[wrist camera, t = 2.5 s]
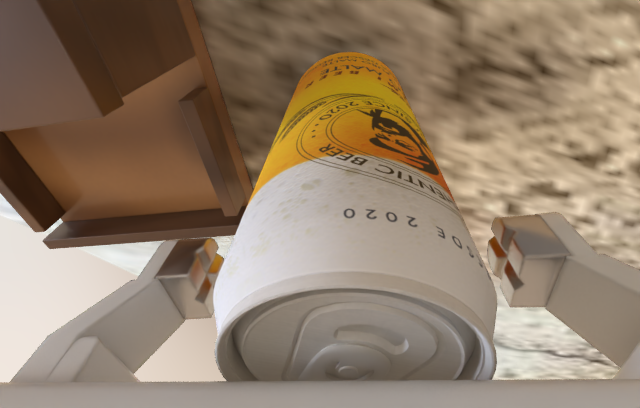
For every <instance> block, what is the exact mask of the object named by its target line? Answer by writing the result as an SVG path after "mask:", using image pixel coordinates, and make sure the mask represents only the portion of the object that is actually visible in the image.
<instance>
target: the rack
mask: <svg viewBox="0 0 640 408" xmlns="http://www.w3.org/2000/svg"><path fill="white" fill-rule="evenodd" d="M0 193H1V194H2V195H3V197H4V198H5V199H6V200H7V201H8V202H9V203H10V204H11V206H12V207H13V208H14V209H15V210H16V211H17V212H18V214H19V215H20V216H21V217H22V218H23V219H24V220H25V221H26V223H27V224H28V225H29V226H30V227H31V228H32V229H33V231H35V232H44V231H46V230H47V229H48V228H49V227H51V226H52V225H53V224H54V223H55V222H56V221H57V220H59V219H60V218H61V219H62V221H63V223H62V224H60V225H59V226H58V227H57V228H56V229H55V230H54V231H53V232H52V233H50V234H49V235H48V236H47V237H46V238H45V239H44V240H43V242H44V243H45V244H46V245H47V247H48V248H49V249H56V248H69V247H83V246H96V245H110V244H123V243H136V242H150V241H163V240H176V239H190V238H203V237H216V236H230V235H235V234H236V231H237V229H238V227H239V224H240V222H241V219H242V217H243V214H244V212H245V210H246V207H247V205H248V202H249V200H250V198H251V195H252V193H253V188H252V185H251V182H250V179H249V176H248V173H247V170H246V167H245V164H244V161H243V158H242V155H241V152H240V149H239V146H238V143H237V140H236V136H235V133H234V130H233V127H232V124H231V121H230V118H229V115H228V112H227V109H226V106H225V103H224V100H223V97H222V94H221V91H220V88H219V85H218V81H217V78H216V75H215V72H214V69H213V66H212V63H211V60H210V57H209V54H208V51H207V48H206V45H205V42H204V39H203V36H202V33H201V30H200V27H199V23H198V20H197V17H196V14H195V11H194V8H193V5H192V2H191V0H0Z"/></svg>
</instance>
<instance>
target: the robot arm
mask: <svg viewBox="0 0 640 408" xmlns="http://www.w3.org/2000/svg"><path fill="white" fill-rule="evenodd" d="M491 230H492V232H493V233H494V235H495V236H494V237H493V238H492V239H491V240H489V242H488V248H487V255H488V262H489V265H490V268H491V270H492V272H493V274H494V275H495V276H497V277H499V278H500V279H502V280H501V284H500V288H501V290H502V292H503V294H504V296H505V298H506V300H507V302H508V304H509V306H510V307H546V308H545V309H547V310H548V311H549V312H550V313H552V314H553V315H554V316H555V317H557V318H558V319H559V320H561V321H562V322H563V323H564V324H566V325H567V326H568V327H569V328H571V329H572V330H573V331H575V332H576V333H577V334H578V335H580V336H581V337H582V338H583V339H585V340H586V341H587V342H588V343H590V344H591V345H592V346H594V347H595V348H596V349H597V350H599V351H600V352H601V353H602V354H604V355H605V356H606V357H608V358H609V359H610V360H611V361H613V362H614V363H615V364H616V365H618V366H619V367H620V369H619V371H618V372H617V373H616V375H615V376H614V377H613V379H553V380H386V381H222V382H221V381H220V382H219V381H218V382H140V381H139V380H138V379H137V378H136V377H135V376H134V373H135V372H136V371H137V370H138V369H139V368H140V367H141V366H142V365H143V364H144V363H145V362H146V361H147V359H149V357H150V356H151V355H152V354H153V353H154V352H155V351H156V350H157V349H158V348H159V347H160V346H161V345H162V344H163V343H164V342H165V341H166V340H167V339H168V338H169V337H170V336H171V335H172V334H173V333H174V332H175V331H176V330H177V329H178V328H179V327H180V325H181V324H182V323H183V322H184V321H185V319H200V318H211V317H212V315H213V312H214V303H213V293H214V287H215V283H216V280H217V277H218V275H219V272H220V270H221V267H222V265H223V263H224V258H223V257H221V256H220V255H219V254H217V253H216V252H217V250H218V248H219V247H218V245H217V243H216V241H215V239H212V238H199V239H181V240H167V241H165V242H163V243H162V244H161V245H160V246H159V248H158V249H157V251H156V252H155V254H154V255H153V256H152V258H151V259H150V261H149V262H148V264H147V265H146V267H145V268H144V269H143V271H142V272H141V274H140V275H139V277H138V278H137V279H136V280H131V281H129V282H128V283H126V284H125V285H123V286H122V287H120V288H119V289H117V290H116V291H114V292H113V293H111V294H110V295H108V296H107V297H105V298H104V299H102V300H101V301H99V302H98V303H97V304H95V305H93V306H92V307H90V308H89V309H87V310H86V311H85V312H83V313H82V314H80V315H79V316H77V317H76V318H74V319H73V320H71V321H70V322H68V323H67V324H65V325H64V326H62V327H61V328H59V329H58V330H56V331H55V332H53V333H52V334H50V335H49V336H47V338H46V339H45V340H44V341H43V342H42V344H41V345H40V346H39V347H38V349H37V350H36V351H35V352H34V353H33V355H32V356H31V357H30V358H29V359H28V361H27V362H26V363H25V364H24V365H23V367H22V368H21V369H20V370H19V371H18V373H17V374H16V375H15V376H14V377H13V379H12V380H11V381H10V382H9V383H0V408H640V270H638V269H636V268H634V267H632V266H630V265H627V264H625V263H623V262H621V261H619V260H617V259H614V258H612V257H610V256H608V255H606V254H597V253H596V252H595V251H594V250H593V248H592V247H591V246H590V245H589V244H588V243H587V242H586V241H585V240H584V239H583V238H582V236H581V235H580V234H579V233H578V232H577V231H576V230H575V229H574V228H573V227H572V226H571V224H570V223H569V222H568V221H567V220H566V219H565V218H564V217H563V216H562V215H561V214H559V213H557V212H552V213H541V214H535V215H522V216H510V217H497V218H495V219H494V221H493V223H492V227H491Z"/></svg>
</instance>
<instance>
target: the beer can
mask: <svg viewBox="0 0 640 408" xmlns="http://www.w3.org/2000/svg"><path fill="white" fill-rule="evenodd" d="M213 303H214V311H215V318H216V325H217V331H218V337H217V340H216V344H215V358H216V363H217V365H218V368H219V370H220V372H221V373H222V375H223V377H224V378H225V379H226V380H227V381H386V380H492V378H493V376H494V373H495V370H496V364H497V359H496V350H495V347H494V344H493V334H494V326H495V319H496V311H497V295H496V291H495V287H494V284H493V282H492V279H491V277H490V275H489V273H488V271H487V269H486V267H485V265H484V262H483V260H482V258H481V256H480V254H479V252H478V250H477V248H476V246H475V243H474V241H473V239H472V237H471V235H470V233H469V231H468V229H467V226H466V224H465V222H464V220H463V218H462V216H461V214H460V212H459V209H458V207H457V205H456V203H455V201H454V199H453V197H452V195H451V192H450V190H449V188H448V186H447V184H446V182H445V180H444V178H443V175H442V173H441V171H440V169H439V167H438V165H437V163H436V161H435V158H434V156H433V154H432V152H431V150H430V148H429V146H428V144H427V141H426V139H425V137H424V135H423V133H422V131H421V129H420V127H419V124H418V122H417V120H416V118H415V116H414V114H413V112H412V110H411V107H410V105H409V103H408V101H407V99H406V97H405V95H404V93H403V90H402V88H401V86H400V84H399V82H398V80H397V78H396V77H395V75H394V74H393V72H392V71H391V70H390V69H389V68H388V67H387V66H386V65H385V64H384V63H382V62H381V61H379V60H378V59H376V58H374V57H372V56H369V55H366V54H363V53H358V52H342V53H336V54H333V55H329V56H327V57H325V58H323V59H321V60H319V61H318V62H316V63H315V64H314V65H312V66H311V67H310V68H309V69H308V70H307V71H306V72H305V74H304V75H303V76H302V78H301V79H300V81H299V83H298V85H297V87H296V89H295V92H294V94H293V96H292V99H291V101H290V104H289V106H288V109H287V111H286V113H285V116H284V118H283V121H282V123H281V125H280V128H279V130H278V133H277V135H276V137H275V140H274V142H273V145H272V147H271V149H270V152H269V154H268V157H267V159H266V162H265V164H264V166H263V169H262V171H261V174H260V176H259V178H258V181H257V183H256V186H255V188H254V190H253V193H252V195H251V198H250V200H249V202H248V205H247V207H246V210H245V212H244V214H243V217H242V219H241V222H240V224H239V227H238V229H237V231H236V234H235V236H234V239H233V241H232V243H231V246H230V248H229V251H228V253H227V255H226V258H225V260H224V263H223V265H222V267H221V270H220V272H219V275H218V277H217V280H216V283H215V287H214V293H213Z"/></svg>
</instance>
